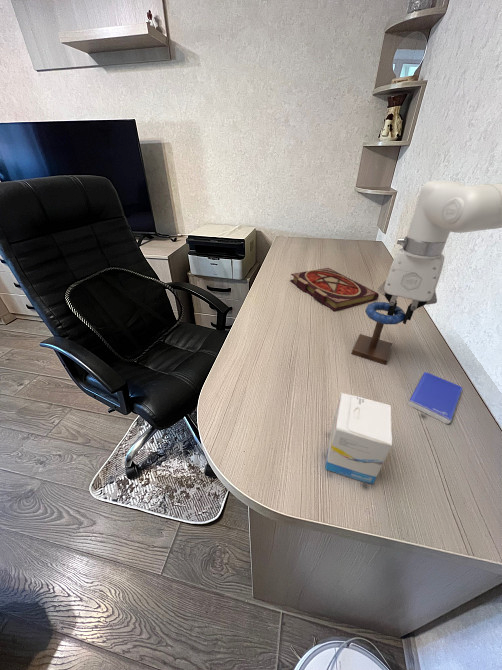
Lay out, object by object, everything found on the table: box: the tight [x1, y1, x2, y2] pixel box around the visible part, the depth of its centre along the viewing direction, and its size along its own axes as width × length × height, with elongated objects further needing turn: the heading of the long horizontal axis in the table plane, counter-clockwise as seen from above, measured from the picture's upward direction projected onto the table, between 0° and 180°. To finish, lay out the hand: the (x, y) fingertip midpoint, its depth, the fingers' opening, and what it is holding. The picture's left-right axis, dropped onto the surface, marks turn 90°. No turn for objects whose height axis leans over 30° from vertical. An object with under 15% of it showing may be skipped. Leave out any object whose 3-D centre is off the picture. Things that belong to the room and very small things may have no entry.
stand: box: [351, 313, 393, 366], centre depth 75 cm, size 9×9×12 cm
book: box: [289, 267, 380, 312], centre depth 109 cm, size 28×21×5 cm
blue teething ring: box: [364, 301, 406, 325], centre depth 71 cm, size 9×9×2 cm
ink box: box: [324, 392, 393, 485], centre depth 48 cm, size 9×8×12 cm
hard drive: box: [407, 371, 463, 425], centre depth 63 cm, size 2×8×12 cm
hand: (397, 319), depth 70 cm, fingers closed on blue teething ring, 2 cm apart
